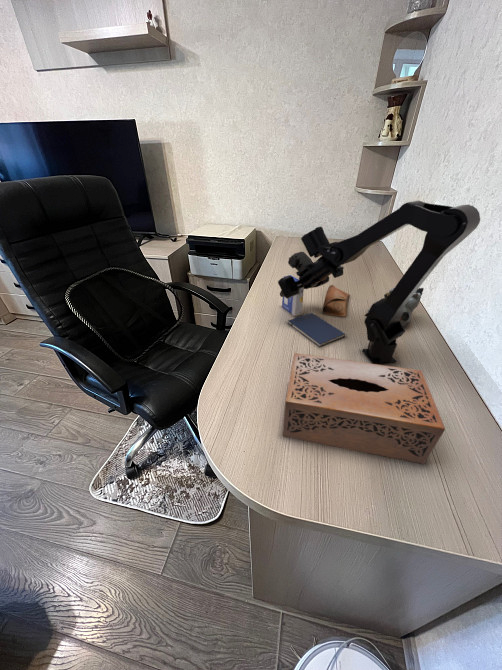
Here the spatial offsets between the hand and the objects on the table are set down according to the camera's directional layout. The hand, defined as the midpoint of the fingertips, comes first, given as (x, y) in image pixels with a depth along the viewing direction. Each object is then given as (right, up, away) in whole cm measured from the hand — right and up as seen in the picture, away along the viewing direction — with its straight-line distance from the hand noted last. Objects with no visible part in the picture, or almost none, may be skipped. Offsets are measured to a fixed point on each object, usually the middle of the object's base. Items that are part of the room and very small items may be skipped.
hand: (290, 291), depth 95 cm
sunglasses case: (+18, -4, +7) cm, 19 cm away
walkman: (+1, -6, +3) cm, 7 cm away
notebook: (+7, -13, -8) cm, 17 cm away
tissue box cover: (+7, -33, -36) cm, 49 cm away
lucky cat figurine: (+33, -9, -2) cm, 34 cm away
